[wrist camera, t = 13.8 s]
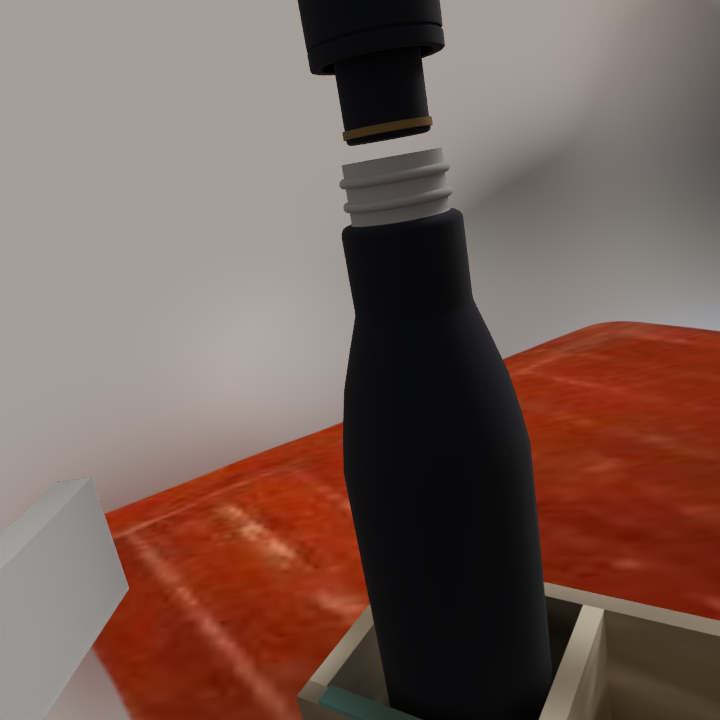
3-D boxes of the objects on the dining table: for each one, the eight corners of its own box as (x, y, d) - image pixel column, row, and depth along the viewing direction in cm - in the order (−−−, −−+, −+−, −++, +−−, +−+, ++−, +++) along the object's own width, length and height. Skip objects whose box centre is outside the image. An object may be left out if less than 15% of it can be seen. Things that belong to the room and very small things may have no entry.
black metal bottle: (575, 845, 22) (483, -154, 13) (397, 840, 23) (202, -80, 14) (550, 696, 28) (474, -62, 19) (409, 698, 29) (276, -15, 20)
